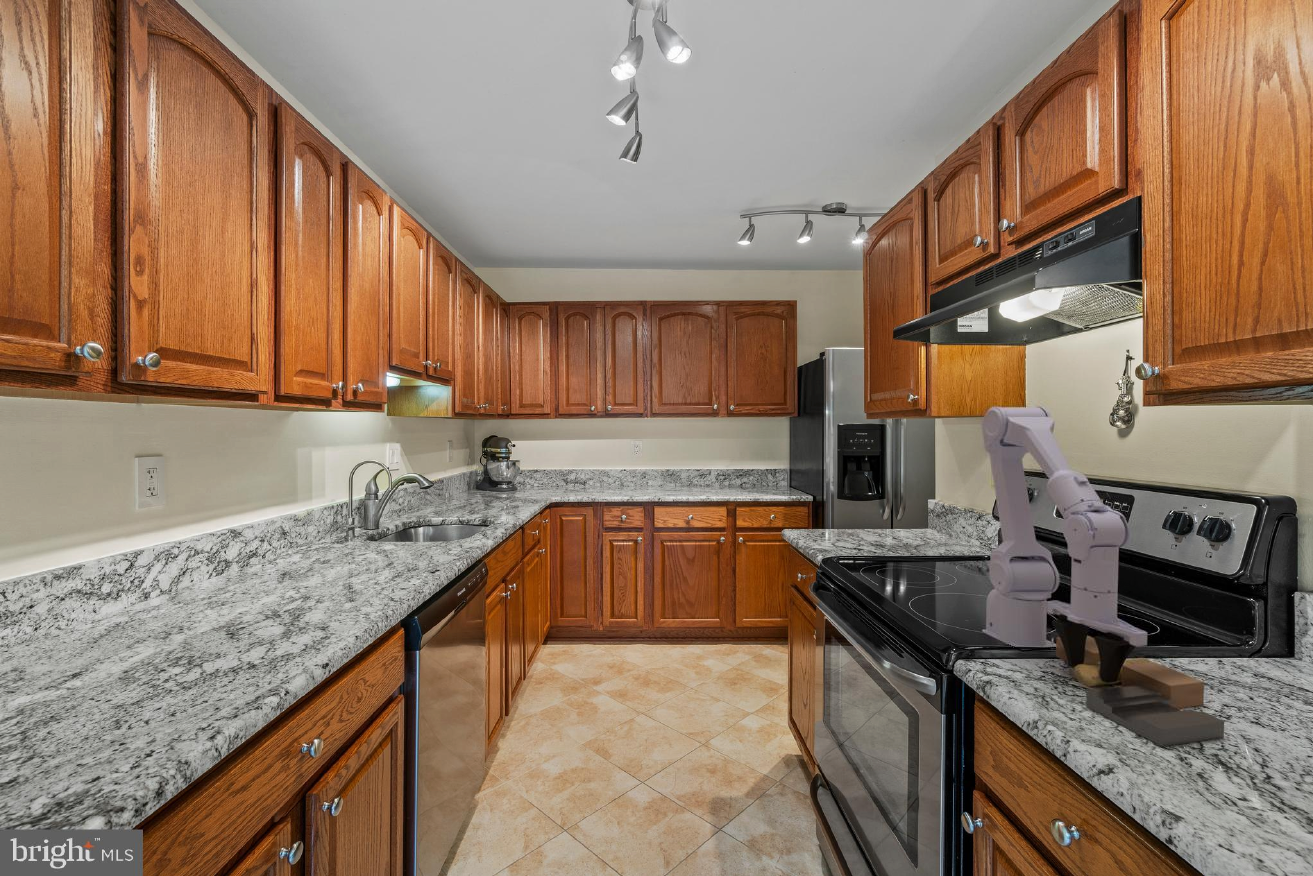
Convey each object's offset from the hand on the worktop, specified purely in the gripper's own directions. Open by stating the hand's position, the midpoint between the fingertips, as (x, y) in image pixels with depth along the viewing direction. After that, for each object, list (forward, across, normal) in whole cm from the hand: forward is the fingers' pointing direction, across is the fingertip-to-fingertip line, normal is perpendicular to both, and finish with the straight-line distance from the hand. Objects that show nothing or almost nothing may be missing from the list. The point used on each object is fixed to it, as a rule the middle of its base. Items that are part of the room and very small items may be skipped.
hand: (1091, 673), depth 87 cm
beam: (+1, 0, +6) cm, 6 cm away
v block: (+1, +11, -3) cm, 11 cm away
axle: (+2, 0, +4) cm, 4 cm away
